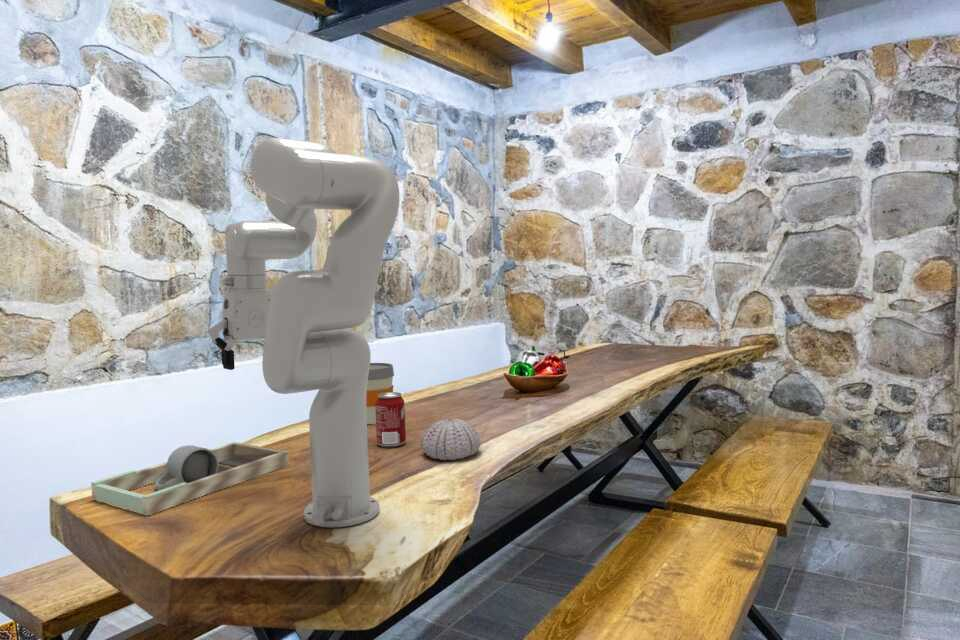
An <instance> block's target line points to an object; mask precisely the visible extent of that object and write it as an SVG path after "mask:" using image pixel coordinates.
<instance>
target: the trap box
mask: <svg viewBox="0 0 960 640" xmlns="http://www.w3.org/2000/svg"><path fill="white" fill-rule="evenodd" d="M209 450H211V451H212V452H213V453H214V454H215V455H216V457H217V459H218V471H217V474H214V475H211V476H208V477H205V478H202V479H199V480H196V481H193V482H190V483H188V486H185V487H182V488H179V489H176V490H173V491H170V492H167V493H164V494H162V495H159V496H156V497H153V498H150V499H143V512H144V514H145V515H150V514H153V513H155V512H158V511H161V510H164V509H166V508H170V507H173V506H175V507H177V506H176V505H178V506H180V505H179V504H181V503H184V502H186V503H188V502H187V501H189V502H191V501H190V500H192V501H194V500H193V499H195V498H197V499H199V498H198V497H200V498H202V497H201V496H203V497H205V496H204V495H206V494H208V495H210V493H211V494H213V493H212V492H214V493H216V492H215V491H217V492H218V490H219V491H222V490H224V488H225V489H227V487H228V488H230V487H233V486H236V485H238V483H239V484H241V483H244V482H246V481H250V480H252V479H254V478H255V479H256V478H257V477H260V476H264V475H266V474H268V473H271V472H274V471H276V470H279V469H282V468H286V467H287V466H289V464H290V462H289V451H288V450H287V451H286V450H281V449H275V448H270V447H264V446H259V445H253V444H248V443H240V442H235V441H233V442H231V443H227V444H224V445H220V446H218V447H217V446H216V447H213V448H211V449H210V448H209ZM167 462H168V461H167ZM167 462H162V463H159V464H157V465H153V466H149V467H147V468H143V469H140V470H135V471H136V474H132V475H129V476H125V477H122V478H119V479H115V480H112V481H109V482H105V483H102V484H105V485H108V486H112V487H116V488H120V489H124V490H127V491H129V490H131V491H133V489H134V490H137V489H139V487H140V488H143V487H146V486H148V484H149V485H152V484H155V483H154V482H156V481H157V479H158V478H160V477H161V476H162V475H164V474H165V473H166V472H168V469H167ZM229 466H230V467H229ZM151 483H152V484H151ZM235 484H236V485H235ZM145 485H146V486H145ZM232 485H233V486H232ZM95 486H96V485H95ZM95 486H94V485H91V498H92V499H94V500H96V492H95ZM136 488H137V489H136ZM221 489H222V490H221ZM206 496H207V495H206ZM195 500H196V499H195ZM184 504H185V503H184ZM181 505H182V504H181ZM173 508H174V507H173ZM170 509H171V508H170ZM164 511H165V510H164ZM153 515H154V514H153Z"/></svg>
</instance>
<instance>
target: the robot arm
mask: <svg viewBox="0 0 960 640" xmlns="http://www.w3.org/2000/svg"><path fill="white" fill-rule="evenodd" d="M250 174H251V178H252V181H253V183H254V184H255V185H256V187H257V188H258V189H260V191H262V192H263V193H265V205H266V206H267V209H268V211H269V212H270V214H272V216H273V217H274V218H275V219H276V220H274V221H273V220H243V221H242V220H241V221H238V222H233V223H229V224H228V225H226V227H225V230H224V231H225V233H224V237H225V257H226V274H227V275H226V278H223V279H222V280H221V285H222V286H223V287H226V289H227V290H225V291H224V295H223V301H222V312H221V321H219V322H218V323H215V325H213V326H212V327H210V328H209V329H208V330H207V333H208V335H209V337H210V339H211V340H212V343H213V344H215V346H217V347H218V349H219V350H221V365H222V367H223V369H224V370H229V371H232V370H234V369H235V368H236V367H235V351H234V350H233V349H232V348H233V346H234V345H235V343H236V342H237V341H248V340H257V339H264V343H263V344H264V345H263V352H262V362H261V363H262V364H261V365H262V374H263V378H264V382H265V383H266V385H267V387H268V388H269V389H270V390H271V391H273V392H274V393H277V394H283V395H289V394H298V393H305V392H309V391H311V392H312V391H316V390H317V393H316V395H315V396H314V399H313V401H312V403H311V405H310V409H309V416H308V425H309V426H308V428H309V445H310V446H309V447H310V468H311V469H310V471H311V490H312V502H311V503H309V504H308V505H306V507H305V508H304V510H303V519H304V521H306V522H307V523H308V524H310V525H313V526H315V527H321V528H344V527H350V526H355V525H359V524H362V523H365V522H367V521H370V520H372V519H373V518H375V517H376V516H377V515H378V514H379V513H380V503H379V501H378V500H377V499H376V498H373V497H372V496H371V493H370V473H369V472H370V471H369V470H370V469H369V444H368V443H369V442H368V439H369V438H368V425H367V410H366V395H367V381H368V374H369V368H370V363H371V348H370V345H369V342H368V341H367V339H366V338H365V337H364V336H363V334H361V333H360V332H358V331H356V330H353V329H352V328H356V327H360V326H362V325H363V324H365V323H366V322H367V320H368V319H369V317H370V315H371V312H372V308H373V304H374V301H375V296H376V295H375V294H376V290H377V284H378V280H379V276H380V271H381V265H382V260H383V257H384V256H383V255H384V251H385V248H386V245H387V243H388V240H389V237H390V235H391V233H392V231H393V228H394V225H395V223H396V221H397V217H398V213H399V208H400V187H399V183H398V180H397V177H396V174H395V173H394V171H393V170H392V167H390V166H389V165H388V164H387V163H385V162H383V161H381V160H380V159H376V158H373V157H368V156H363V155H359V154H358V155H357V154H351V153H350V154H349V153H337V152H336V151H335V150H334V149H333V148H331V147H330V146H328V145H326V144H323V143H320V142H316V141H308V140H300V139H290V138H283V137H282V138H281V137H270V138H268V137H267V138H266V139H263V140H262V141H261V142H259V143H258V144H257V146H256V147H255V149H254V150H253V152H252V155H251V158H250ZM317 209H318V210H333V211H334V210H337V211H340V210H341V211H342V210H344V211H347V210H348V211H350V214H349V215H348V216H347V218H345V219H344V220H343V221H342V222H341V223H340V224H339V226H337V228H336V230H335V231H334V232H333V234H332V235H331V237H330V240H329V241H328V244H327V249H326V251H327V252H326V257H325V261H324V263H323V266H322V267H321V268H320V269H317V270H314V269H313V270H296V271H290V272H287V273H286V274H283V275H282V276H280V278H279V279H278V280H277V282H276V283H275V285H274V286H273V289H272V292H271V289H267V276H266V275H267V273H266V272H267V271H266V260H292V259H295V258H299V257H301V256H302V255H303V254H304V253H305V252H306V251H307V250H308V249H309V248H310V247H311V245H312V244H313V243H314V241H315V238H316V235H317V229H318V221H317V215H316V213H315V211H316V210H317ZM221 331H222V338H221V336H220V334H219V333H220V332H221Z"/></svg>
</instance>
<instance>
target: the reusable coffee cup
mask: <svg viewBox="0 0 960 640" xmlns="http://www.w3.org/2000/svg"><path fill="white" fill-rule="evenodd" d="M394 376H395V372H394V366H393V364H392V363H388V362H387V363H386V362H370V368H369V374H368V381H367V395H366V410H367V424H372V425H376V406H375V403H376V401H377V399H378V394H381V393H386V392H394V385H393V378H394Z"/></svg>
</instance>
